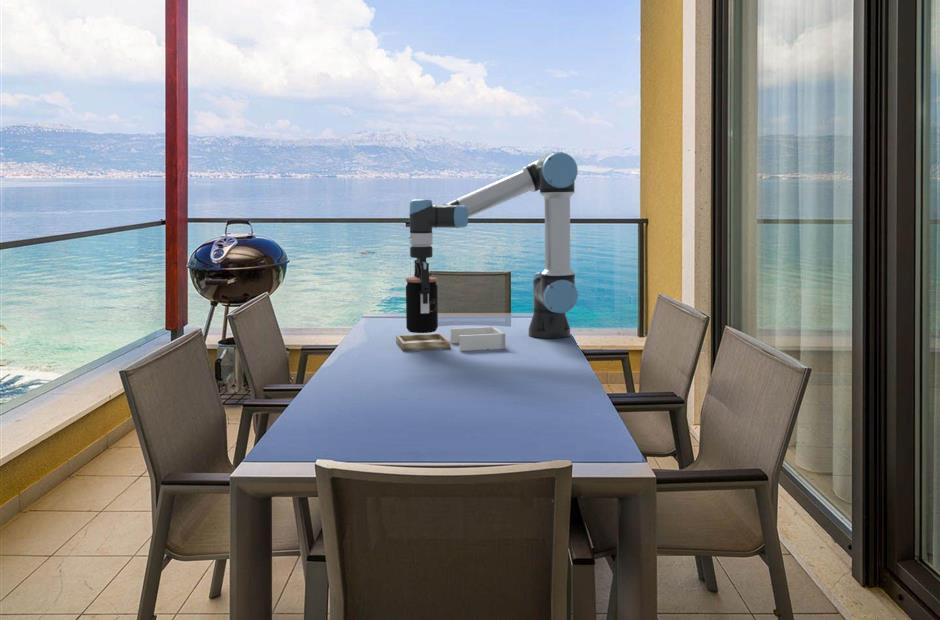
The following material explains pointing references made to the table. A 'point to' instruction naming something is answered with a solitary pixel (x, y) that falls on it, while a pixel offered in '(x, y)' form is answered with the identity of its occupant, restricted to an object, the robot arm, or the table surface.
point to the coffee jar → (414, 317)
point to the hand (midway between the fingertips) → (422, 310)
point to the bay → (478, 338)
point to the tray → (422, 342)
